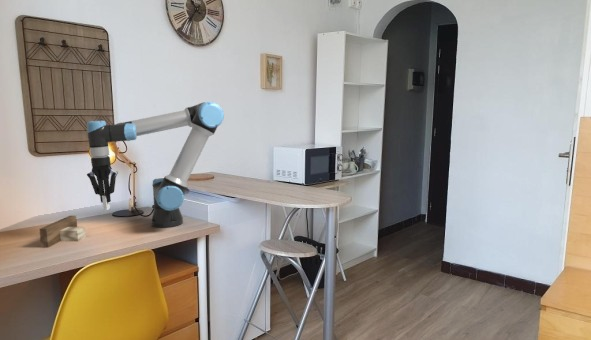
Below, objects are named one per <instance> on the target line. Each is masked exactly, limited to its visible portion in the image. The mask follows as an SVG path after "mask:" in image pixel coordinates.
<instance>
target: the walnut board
mask: <svg viewBox="0 0 591 340" xmlns="http://www.w3.org/2000/svg"><path fill="white" fill-rule="evenodd" d="M66 227H78V220H77V215H68V216H66V217H64V218H61V219H59V220H56V221H54V222H51V223H50V224H47V225H45V226H43V227H40V228H39V237H40V238H39V239H40V245H41V248H49V247H52V246H54V245H55V244H58V243H60V242H62V241H61V239H60V230H62V229H64V228H66Z"/></svg>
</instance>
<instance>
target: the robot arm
mask: <svg viewBox="0 0 591 340" xmlns="http://www.w3.org/2000/svg"><path fill="white" fill-rule="evenodd" d="M224 118H225V113H224V110H223V108H222V107H221V105H219V104H218V103H217V102H214V101H205V102H201V103H198V104H195V105H193V106H188V107H185V109H184V110H179V111H172V112H169V113H165V114H159V115H154V116H149V117H145V118H144V117H143V118H139V119H134V120H130V121H129V120H128V121H123V122H118V123H116V124H107V122H106V121H105V120H92V121H91V120H90V121H88V122H87V123H86V128H87V131H86V132H87V138H88V139H87V140H88V144H89V145H88V146H89V155H90V157H91V158H90V161H91V162H90V163H91V167H92V168H91V171H90V172H89V173H86V176H87V177H88V178H89V180H90V183H91V186H92V189H93V190H94V191H93V192H94V194H95V195H97V196H99V198H100V199H99V200H100V203H101V204H102V207H103V211H108V210H110V209H111V208H110V207H111V205H110V203H111V202H112V201H111V195H112V194H113V193H115V188H116V181H117V180H116V178H117V175H118V174H119V172H118V170H117V171H115V170H113V168H112V165H111V157H110V148H109V143H112V142H113V143H114V142H131V141H136V140H137V137H141V136H144V135H149V134H153V133H154V134H155V133H160V132H164V131H168V130H172V129H177V128H182V127H189V128H191V130H190V132H189V134H188V136H187V138H186V139H185V142H184V144H183V146H182V148H181V150H180V153H179V154H178V156H177V158H176V160H175V162H174V164H173V166H172V169H171V171H170V172H169V174H167V175H164V177H163V178H162V177H161V178H155V179H153V180H152V185H151V186H152V192H153V208H154V209H153V212H152V217H151V222H150V224H151V226H152V227H154V228H160V229H161V228H172V227H176V226H177V227H178V226H180V225H182V224H184V218H183V215H182V212H181V210H180V207H181V206H182V205H183V203H184V200H185V194H186V192H187V190H188V187H189V185H188V181H189V179H190V176H191V175H192V172H193V169H194V167H195V166H196V164H197V162H198V160H199V157H200V156H201V153H202V152H203V150H204V147H205V145H206V143H207V141H208V140H209V137H211V136H213V135H215V133H216V130H217V128H218V127H219V126H220V125H222V123H223V121H224ZM109 179H110V180H109Z"/></svg>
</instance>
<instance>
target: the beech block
mask: <svg viewBox="0 0 591 340" xmlns="http://www.w3.org/2000/svg"><path fill="white" fill-rule="evenodd" d="M86 235H87V233H86V227H85V226H77V227H66V228H64V229H62V230H60V239H61V241H60V242H80V241H82V240H84V239H85V238H87V236H86Z"/></svg>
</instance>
